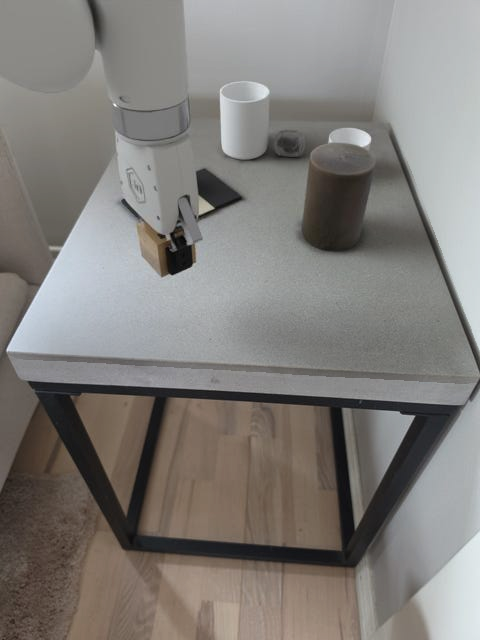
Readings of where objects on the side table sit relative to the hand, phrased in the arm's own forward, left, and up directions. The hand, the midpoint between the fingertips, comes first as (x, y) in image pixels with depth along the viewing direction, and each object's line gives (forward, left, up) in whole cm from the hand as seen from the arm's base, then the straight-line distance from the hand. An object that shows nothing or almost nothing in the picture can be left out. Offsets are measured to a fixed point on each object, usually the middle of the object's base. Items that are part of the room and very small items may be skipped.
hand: (168, 256), depth 60 cm
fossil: (+41, +25, -11) cm, 50 cm away
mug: (+36, +33, -11) cm, 50 cm away
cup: (+45, +13, -11) cm, 48 cm away
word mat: (+15, +24, -11) cm, 30 cm away
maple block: (0, 0, -1) cm, 1 cm away
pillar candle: (+30, +1, -11) cm, 32 cm away
